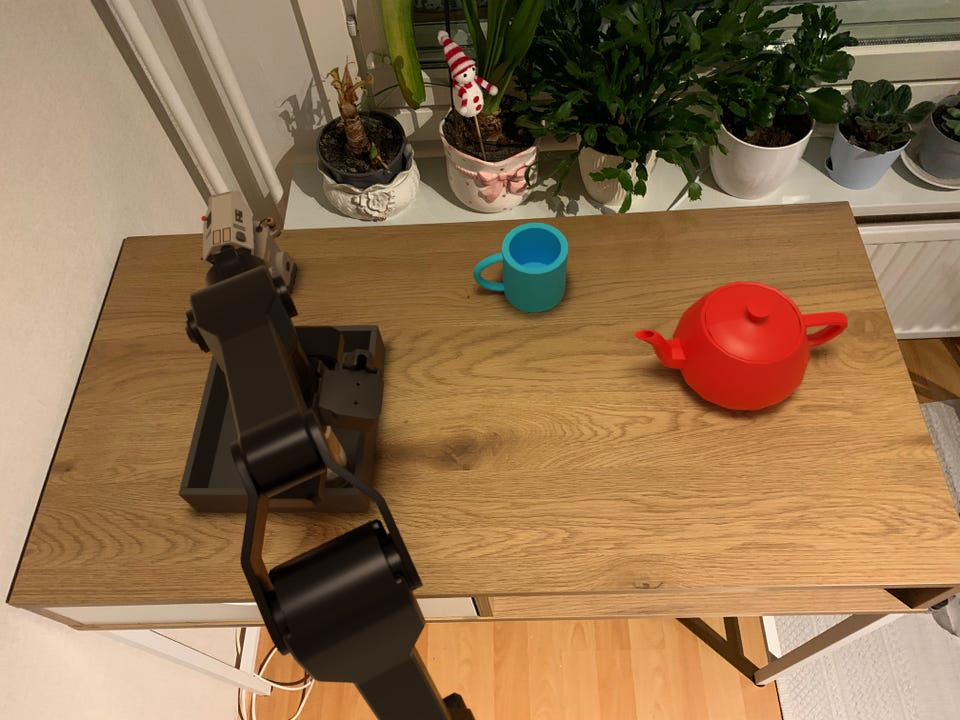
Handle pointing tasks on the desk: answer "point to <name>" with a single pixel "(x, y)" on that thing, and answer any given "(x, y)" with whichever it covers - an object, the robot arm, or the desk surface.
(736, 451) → the desk surface
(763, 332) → the teapot
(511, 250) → the mug
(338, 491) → the dark grey tray
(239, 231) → the figurine
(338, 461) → the sprinkles bottle
